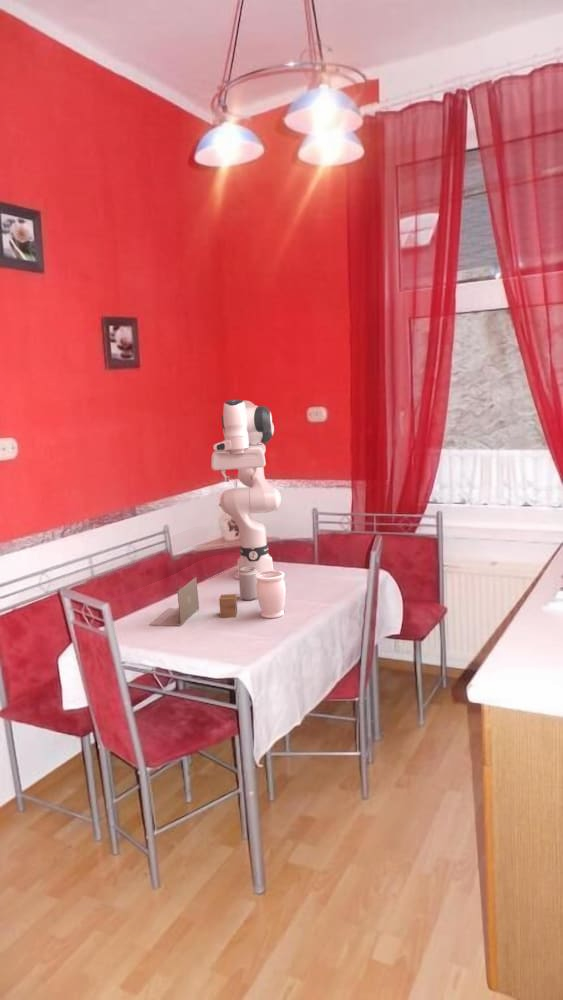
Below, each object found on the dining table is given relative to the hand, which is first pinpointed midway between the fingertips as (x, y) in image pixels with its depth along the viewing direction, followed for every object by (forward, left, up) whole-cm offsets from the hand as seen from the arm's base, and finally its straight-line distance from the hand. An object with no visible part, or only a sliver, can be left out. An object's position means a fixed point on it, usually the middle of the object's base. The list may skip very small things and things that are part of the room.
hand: (239, 480), depth 268 cm
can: (-3, 0, -47) cm, 47 cm away
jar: (+18, +10, -47) cm, 51 cm away
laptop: (+16, -26, -47) cm, 56 cm away
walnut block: (+16, -6, -47) cm, 50 cm away
